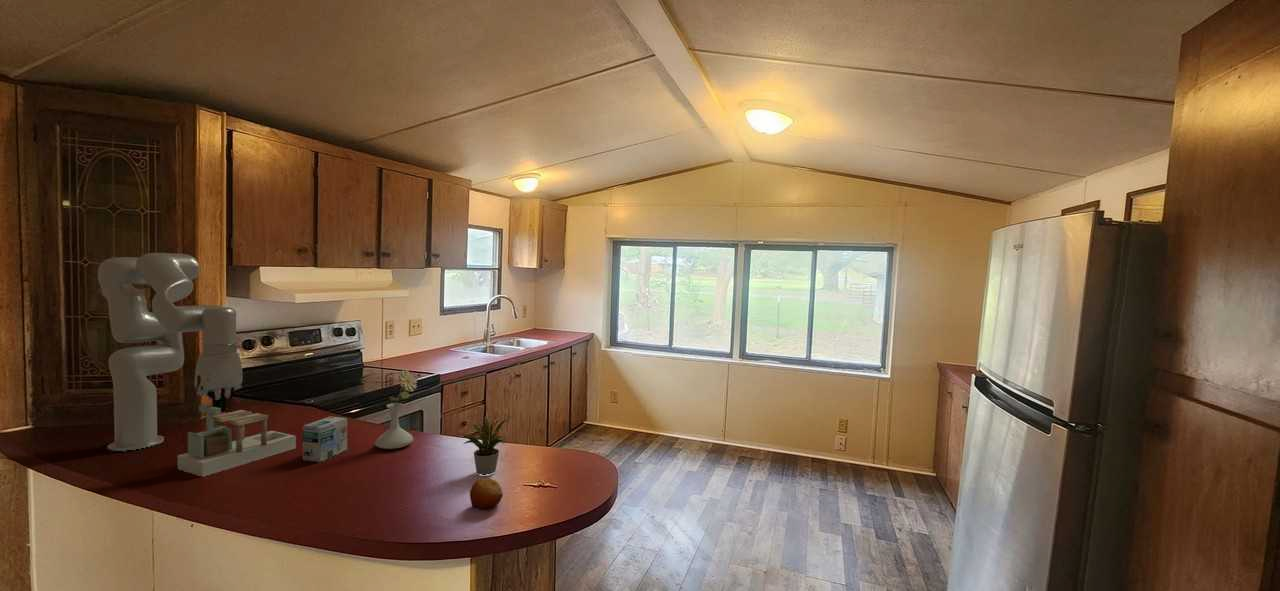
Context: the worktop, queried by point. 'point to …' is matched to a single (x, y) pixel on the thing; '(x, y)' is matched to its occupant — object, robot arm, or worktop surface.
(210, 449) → the block
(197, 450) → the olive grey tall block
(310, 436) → the light bulb box
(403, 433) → the flower in vase
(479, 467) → the house plant
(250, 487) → the worktop surface
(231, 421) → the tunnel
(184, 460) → the white rectangular tray
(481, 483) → the fruit
